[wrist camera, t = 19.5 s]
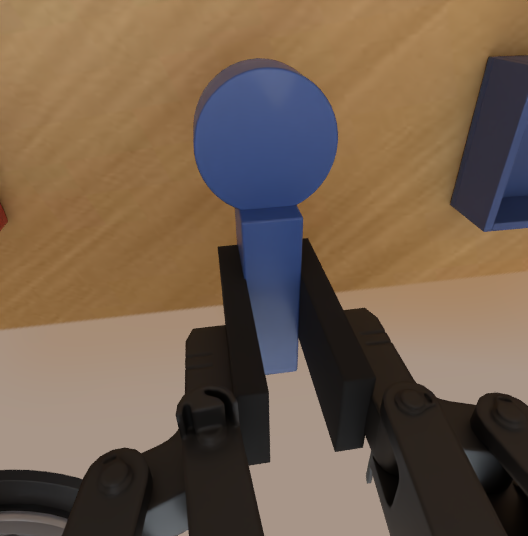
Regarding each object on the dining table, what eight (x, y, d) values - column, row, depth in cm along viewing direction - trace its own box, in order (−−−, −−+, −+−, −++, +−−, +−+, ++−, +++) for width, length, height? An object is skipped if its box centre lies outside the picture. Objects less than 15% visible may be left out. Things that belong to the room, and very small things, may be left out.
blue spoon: (309, 322, 17) (326, 368, 15) (216, 332, 17) (219, 381, 15) (325, 55, 12) (355, 68, 10) (185, 61, 11) (184, 75, 9)
